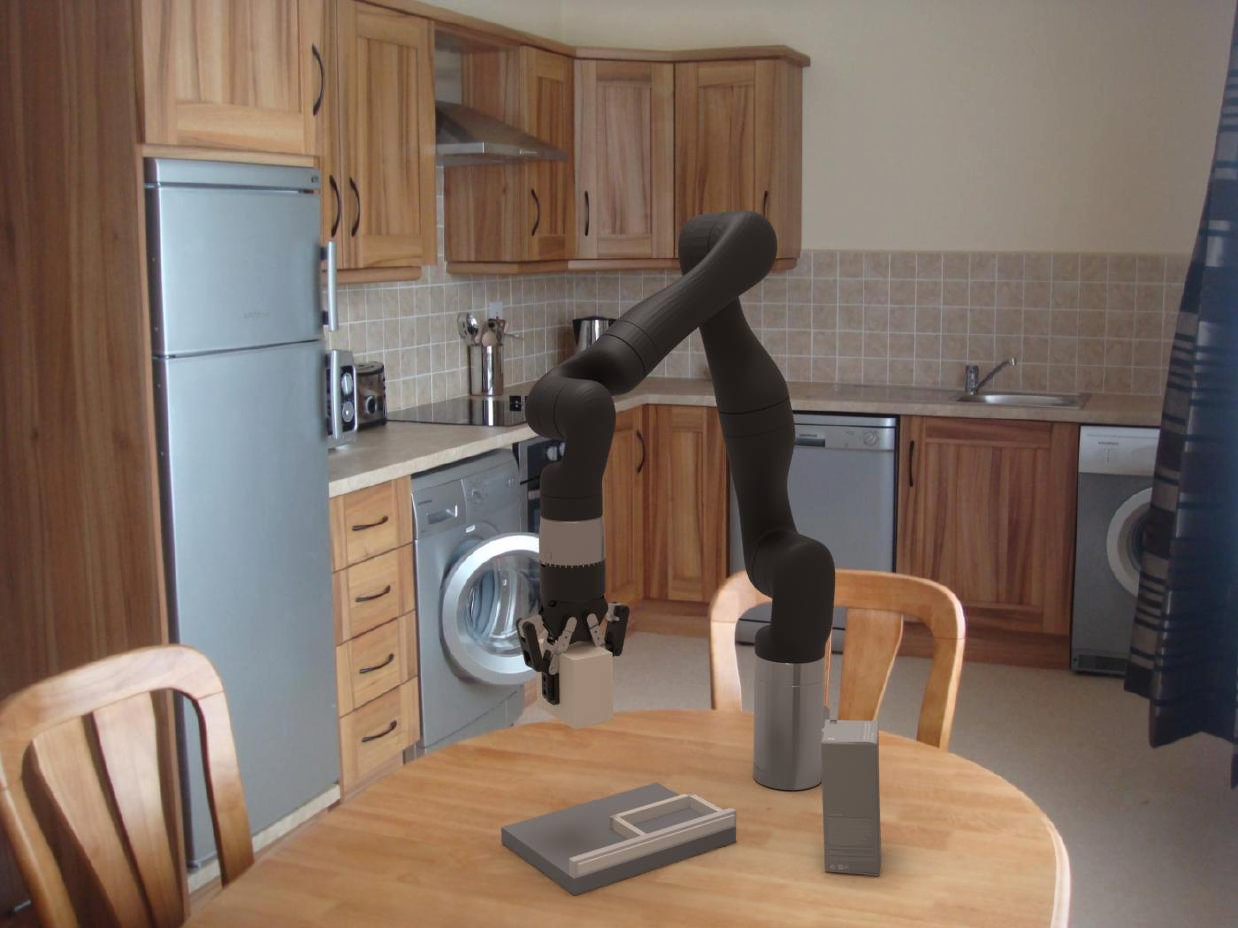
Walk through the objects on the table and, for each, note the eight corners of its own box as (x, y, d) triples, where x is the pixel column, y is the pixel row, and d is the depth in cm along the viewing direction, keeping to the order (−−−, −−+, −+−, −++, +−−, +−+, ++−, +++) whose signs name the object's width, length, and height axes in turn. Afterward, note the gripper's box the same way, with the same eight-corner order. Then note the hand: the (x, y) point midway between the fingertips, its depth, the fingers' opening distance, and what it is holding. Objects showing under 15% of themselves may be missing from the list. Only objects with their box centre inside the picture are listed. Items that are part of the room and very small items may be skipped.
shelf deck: (656, 796, 175) (656, 767, 175) (737, 842, 162) (737, 810, 162) (501, 842, 162) (500, 811, 162) (575, 896, 149) (574, 862, 149)
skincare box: (880, 878, 153) (884, 744, 151) (816, 872, 155) (819, 740, 152) (881, 845, 161) (885, 718, 159) (820, 840, 163) (823, 714, 160)
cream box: (537, 705, 159) (535, 639, 158) (575, 697, 162) (574, 632, 160) (574, 729, 152) (573, 660, 150) (614, 720, 154) (613, 652, 153)
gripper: (610, 540, 160) (611, 678, 163) (500, 556, 153) (504, 700, 156) (644, 552, 154) (645, 696, 157) (531, 570, 147) (534, 720, 149)
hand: (574, 697), depth 156 cm, fingers closed on cream box, 5 cm apart
